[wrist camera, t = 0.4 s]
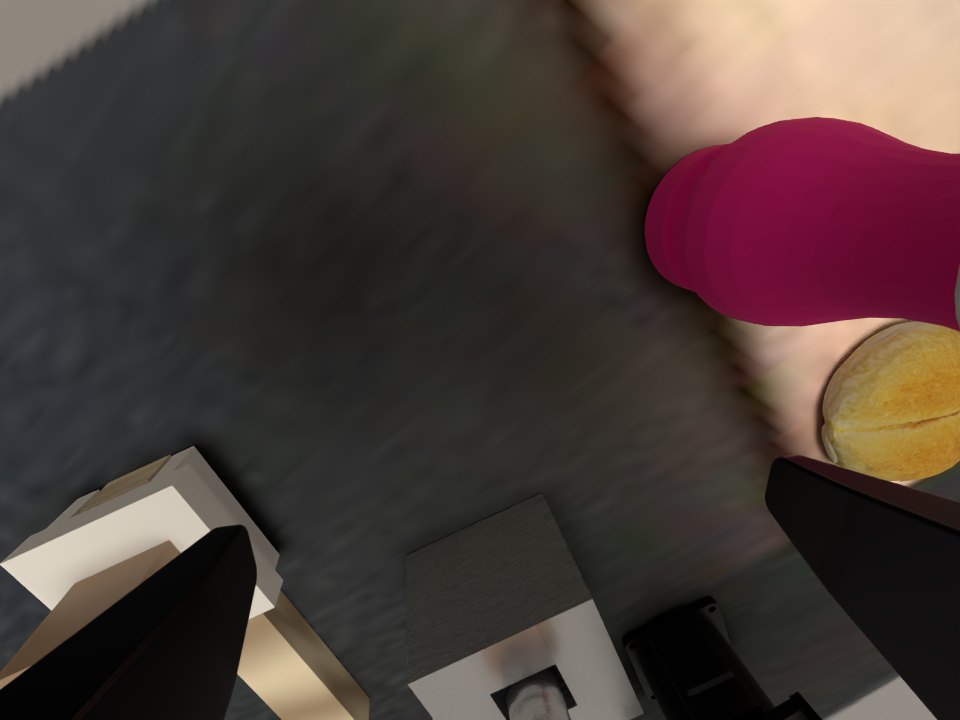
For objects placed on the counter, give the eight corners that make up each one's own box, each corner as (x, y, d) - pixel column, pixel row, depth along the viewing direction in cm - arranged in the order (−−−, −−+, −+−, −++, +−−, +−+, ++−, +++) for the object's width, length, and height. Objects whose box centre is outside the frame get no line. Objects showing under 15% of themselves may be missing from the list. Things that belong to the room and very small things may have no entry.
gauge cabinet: (586, 591, 28) (643, 713, 21) (458, 650, 28) (477, 791, 21) (541, 492, 25) (592, 598, 18) (398, 558, 25) (398, 688, 18)
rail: (369, 698, 28) (367, 734, 26) (323, 720, 28) (318, 757, 26) (170, 454, 21) (147, 480, 19) (108, 482, 21) (80, 510, 19)
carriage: (292, 549, 23) (246, 702, 16) (163, 608, 23) (61, 787, 16) (208, 439, 21) (109, 565, 14) (63, 505, 20) (-111, 666, 13)
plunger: (568, 659, 22) (624, 813, 17) (501, 690, 22) (535, 855, 17) (544, 611, 21) (596, 761, 16) (472, 644, 21) (498, 806, 16)
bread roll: (954, 304, 25) (1050, 322, 22) (925, 443, 29) (1004, 481, 25) (819, 334, 25) (894, 359, 21) (804, 475, 28) (867, 518, 24)
